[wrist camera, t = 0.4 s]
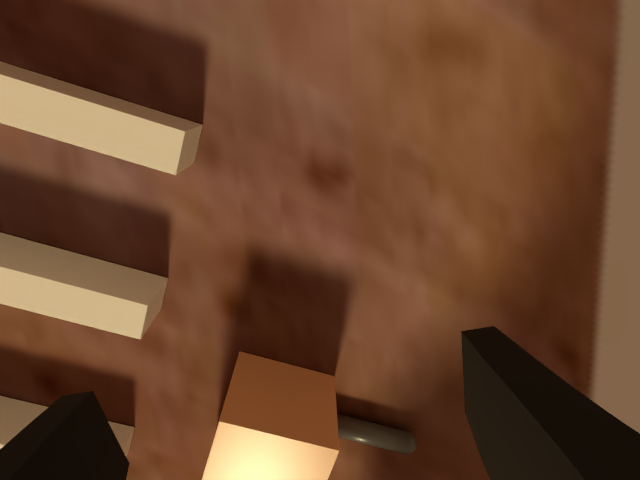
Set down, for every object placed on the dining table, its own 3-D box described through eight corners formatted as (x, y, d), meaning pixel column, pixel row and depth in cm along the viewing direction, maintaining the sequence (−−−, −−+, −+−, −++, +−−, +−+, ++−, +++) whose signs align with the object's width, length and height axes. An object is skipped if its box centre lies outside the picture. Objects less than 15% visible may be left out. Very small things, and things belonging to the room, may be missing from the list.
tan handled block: (397, 471, 23) (416, 560, 19) (216, 426, 22) (193, 510, 18) (430, 401, 21) (458, 480, 17) (239, 351, 20) (219, 421, 16)
